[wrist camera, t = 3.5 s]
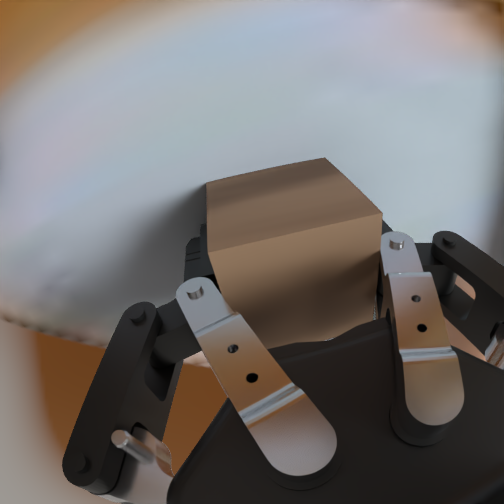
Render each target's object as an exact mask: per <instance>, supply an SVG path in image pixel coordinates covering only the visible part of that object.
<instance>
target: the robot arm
mask: <svg viewBox="0 0 504 504" xmlns="http://www.w3.org/2000/svg"><path fill="white" fill-rule="evenodd" d="M457 275H458V276H460V277H461V278H462V279H463V280H465V281H466V282H467V283H468V284H470V285H471V286H472V287H473V289H474V291H475V299H473V298H472V297H470V296H469V295H468V294H467V293H466V292H465V291H463V290H462V289H461V288H460V287H458V286H457V285H456V284H455V282H456V278H457ZM375 311H376V320H373V321H370V322H367V323H364V324H360V325H357V326H355V327H354V328H352V329H350V330H348V331H346V332H345V333H343V334H341V335H339V336H337V337H336V338H334V339H332V340H328V341H313V342H295V343H291V344H287V345H283V346H279V347H274V348H270V349H266V348H265V346H264V345H263V344H262V342H261V341H260V340H259V338H258V337H257V336H256V334H255V333H254V332H253V330H252V329H251V328H250V326H249V325H248V324H247V322H246V321H245V320H244V318H243V317H242V316H241V314H240V313H239V312H238V311H236V312H233V311H232V309H231V308H230V306H229V305H228V304H227V302H226V301H225V299H224V298H223V296H222V294H221V291H220V288H219V285H218V282H217V279H216V276H215V273H214V270H213V267H212V264H211V261H210V258H209V255H208V246H207V223H206V224H202V225H201V229H200V237H197V238H193V239H191V240H190V242H189V243H188V245H187V246H186V257H185V272H184V283H183V284H182V285H180V287H179V288H178V289H177V291H176V298H175V299H174V300H173V301H171V302H169V303H168V304H165V305H163V306H161V307H159V308H157V309H156V307H155V306H154V305H153V304H152V303H149V302H140V303H137V304H134V305H133V306H131V307H129V308H128V309H127V310H126V311H125V312H124V314H123V315H122V317H121V319H120V321H119V323H118V326H117V328H116V330H115V332H114V334H113V336H112V338H111V340H110V343H109V345H108V347H107V349H106V351H105V354H104V356H103V358H102V360H101V363H100V365H99V367H98V369H97V372H96V374H95V376H94V379H93V381H92V384H91V386H90V388H89V391H88V393H87V396H86V398H85V401H84V403H83V406H82V408H81V411H80V413H79V416H78V418H77V421H76V424H75V426H74V429H73V432H72V434H71V437H70V440H69V443H68V445H67V449H66V451H65V454H64V457H63V462H62V467H63V472H64V475H65V477H66V478H67V480H68V481H69V482H70V483H72V484H74V485H76V486H78V487H81V488H83V489H85V490H87V491H89V492H90V493H92V494H94V495H97V496H99V497H102V498H105V499H107V500H110V501H113V502H117V503H118V502H119V503H122V504H504V267H503V266H502V265H501V264H499V263H498V262H496V261H495V260H494V259H492V258H491V257H490V256H488V255H487V254H485V253H484V252H483V251H481V250H480V249H478V248H477V247H476V246H474V245H473V244H471V243H470V242H468V241H467V240H465V239H464V238H462V237H461V236H459V235H458V234H456V233H454V232H450V231H440V232H437V233H435V234H434V236H433V240H432V243H414V241H413V239H412V238H411V237H410V236H409V235H407V234H405V233H402V232H394V231H393V230H392V229H391V228H390V227H389V226H388V225H387V224H386V223H385V222H384V221H383V219H382V234H381V248H380V261H379V271H378V281H377V290H376V298H375ZM444 317H445V318H446V319H447V320H448V321H449V322H450V323H451V324H452V325H453V326H454V327H455V328H456V329H457V330H459V331H460V332H461V333H462V334H463V335H464V336H465V337H466V338H467V339H468V340H469V341H470V342H471V343H472V344H473V345H474V346H475V347H476V348H477V349H478V350H479V351H480V352H481V353H482V354H483V355H484V356H485V359H486V361H484V360H482V359H480V358H477V357H475V356H473V355H471V354H469V353H467V352H465V351H463V350H461V349H458V348H456V347H454V346H452V345H450V342H449V337H448V333H447V329H446V324H445V320H444ZM200 351H203V353H204V355H205V357H206V359H207V361H208V363H209V364H210V366H211V368H212V370H213V372H214V373H215V375H216V377H217V379H218V381H219V382H220V384H221V386H222V388H223V389H224V391H225V393H226V395H227V397H228V398H227V399H226V401H225V402H224V404H223V405H222V407H221V408H220V410H219V412H218V413H217V415H216V416H215V418H214V419H213V421H212V422H211V424H210V425H209V427H208V428H207V430H206V431H205V433H204V434H203V436H202V437H201V439H200V440H199V442H198V443H197V445H196V446H195V447H194V449H193V450H192V452H191V453H190V455H189V456H188V458H187V459H186V460H185V462H184V463H183V465H182V466H181V468H180V469H179V470H178V472H177V473H176V475H175V476H174V475H173V473H172V470H171V454H170V451H169V449H168V448H167V446H166V445H165V444H163V443H162V439H163V436H164V432H165V427H166V424H167V420H168V416H169V412H170V409H171V405H172V401H173V397H174V394H175V390H176V386H177V382H178V379H179V375H180V372H181V368H182V365H183V359H185V358H187V357H189V356H192V355H194V354H196V353H198V352H200Z"/></svg>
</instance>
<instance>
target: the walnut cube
mask: <svg viewBox="0 0 504 504" xmlns="http://www.w3.org/2000/svg"><path fill="white" fill-rule="evenodd" d="M206 195H207V246H208V255H209V258H210V261H211V264H212V267H213V270H214V273H215V276H216V279H217V282H218V285H219V288H220V291H221V294H222V296H223V298H224V299H225V301H226V302H227V304H228V305H229V306H230V308H231V309H232V311H233V312H236V311H238V312H239V313H240V314H241V316H242V317H243V318H244V320H245V321H246V322H247V324H248V325H249V326H250V328H251V329H252V330H253V332H254V333H255V334H256V336H257V337H258V338H259V340H260V341H261V342H262V344H263V345H264V346H265V348H266V349H270V348H274V347H279V346H283V345H287V344H291V343H295V342H313V341H324V340H327V339H331V338H334V337H337V336H339V335H341V334H343V333H345V332H346V331H348V330H350V329H352V328H354V327H355V326H357V325H360V324H364V323H367V322H370V321H373V314H374V306H375V298H376V290H377V281H378V271H379V261H380V248H381V234H382V215H383V213H382V212H381V211H380V210H379V209H378V208H377V207H376V206H375V205H374V204H373V203H372V202H371V201H370V200H369V199H368V198H367V197H366V196H365V195H364V194H363V193H362V192H361V191H360V190H359V189H358V188H357V187H356V186H355V185H354V184H353V183H352V182H351V181H350V180H349V179H348V178H347V177H346V176H345V175H343V174H342V173H341V172H340V171H339V170H338V169H337V168H336V167H335V166H334V165H333V164H332V163H330V162H329V161H328V160H327V159H326V158H320V159H314V160H309V161H303V162H298V163H293V164H288V165H283V166H278V167H273V168H268V169H263V170H258V171H254V172H249V173H245V174H240V175H236V176H232V177H227V178H223V179H219V180H215V181H211V182H207V183H206Z"/></svg>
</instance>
